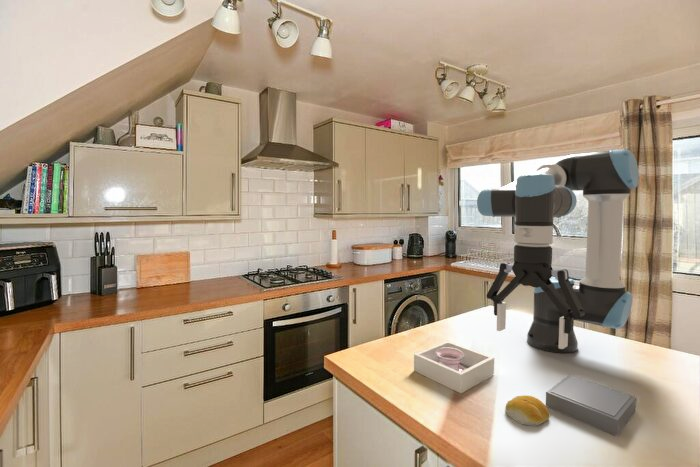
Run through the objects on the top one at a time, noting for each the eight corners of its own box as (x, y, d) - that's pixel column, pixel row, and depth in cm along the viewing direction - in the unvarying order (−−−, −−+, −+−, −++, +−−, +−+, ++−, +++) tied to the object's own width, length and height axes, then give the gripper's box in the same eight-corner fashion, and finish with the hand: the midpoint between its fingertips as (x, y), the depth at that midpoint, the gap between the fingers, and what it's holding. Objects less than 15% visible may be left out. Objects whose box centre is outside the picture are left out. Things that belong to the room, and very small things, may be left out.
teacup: (464, 388, 91) (464, 365, 91) (421, 376, 98) (421, 355, 97) (474, 370, 101) (475, 349, 101) (435, 360, 108) (435, 341, 107)
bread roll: (554, 417, 78) (555, 400, 78) (533, 431, 73) (534, 414, 73) (520, 400, 85) (520, 385, 85) (498, 412, 80) (499, 396, 80)
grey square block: (545, 406, 82) (546, 391, 82) (568, 387, 91) (569, 373, 91) (617, 436, 71) (617, 419, 71) (635, 411, 80) (636, 396, 79)
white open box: (413, 370, 101) (413, 354, 100) (447, 356, 111) (447, 340, 110) (460, 393, 88) (461, 374, 88) (493, 374, 98) (494, 357, 98)
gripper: (472, 241, 83) (471, 326, 85) (592, 251, 64) (587, 361, 65) (489, 239, 88) (487, 320, 89) (605, 248, 68) (601, 351, 70)
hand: (529, 337), depth 77 cm, fingers open, 13 cm apart
